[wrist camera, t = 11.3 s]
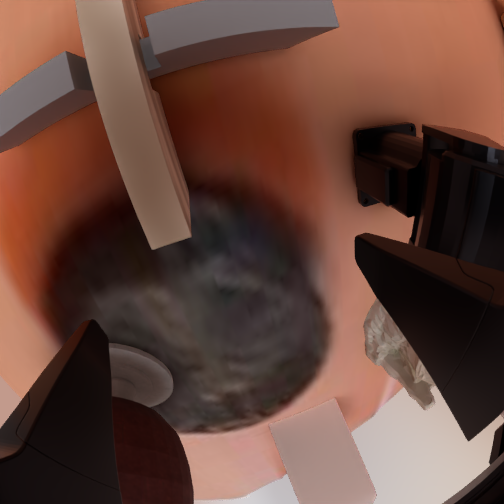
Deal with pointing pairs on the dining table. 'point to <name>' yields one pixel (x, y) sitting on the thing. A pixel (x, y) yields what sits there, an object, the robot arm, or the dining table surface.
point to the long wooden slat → (134, 119)
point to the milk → (322, 457)
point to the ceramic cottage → (396, 355)
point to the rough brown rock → (502, 19)
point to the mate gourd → (146, 431)
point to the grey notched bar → (163, 54)
